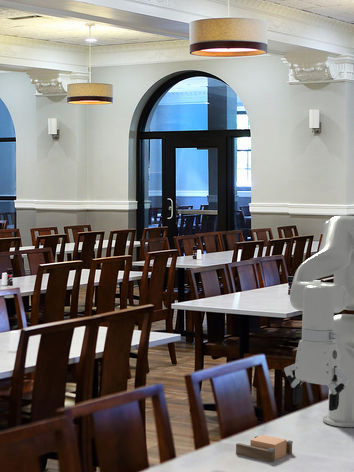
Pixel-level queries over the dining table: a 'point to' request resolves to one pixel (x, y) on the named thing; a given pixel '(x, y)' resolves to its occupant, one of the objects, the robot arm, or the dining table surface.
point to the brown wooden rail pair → (260, 451)
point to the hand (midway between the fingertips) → (315, 406)
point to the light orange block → (271, 444)
